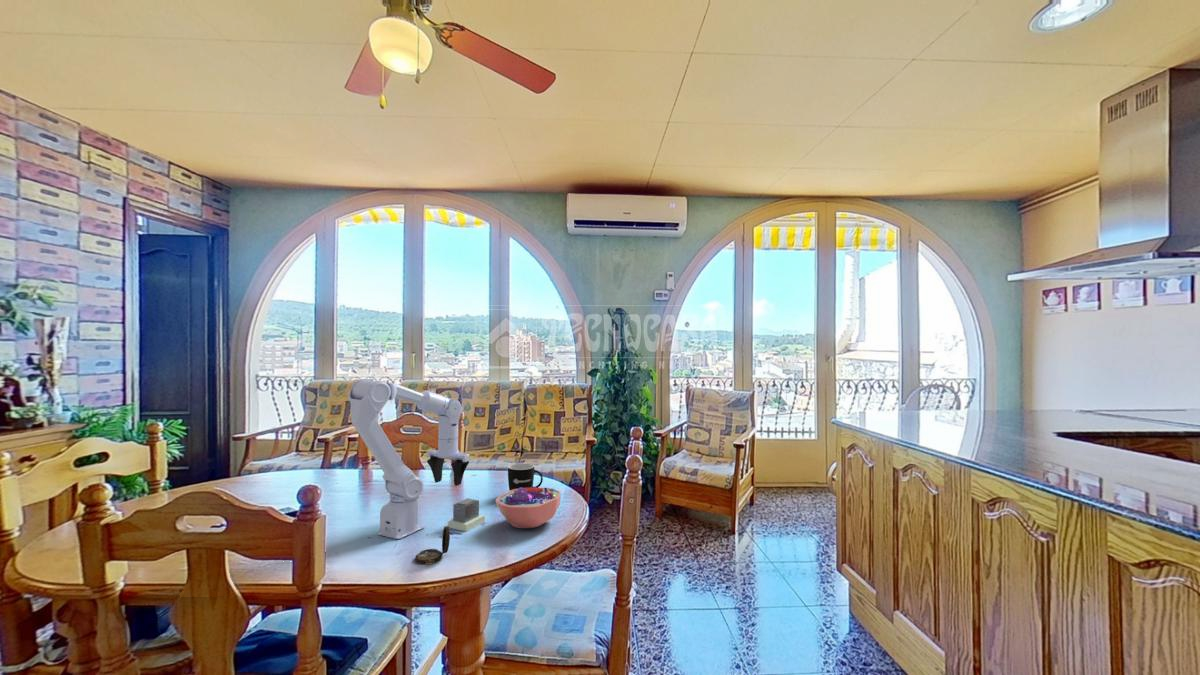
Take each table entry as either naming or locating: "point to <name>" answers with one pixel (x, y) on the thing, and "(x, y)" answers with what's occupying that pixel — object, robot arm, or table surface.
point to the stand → (466, 525)
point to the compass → (434, 550)
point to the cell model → (529, 506)
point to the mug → (522, 476)
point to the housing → (465, 510)
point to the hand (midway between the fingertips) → (447, 483)
